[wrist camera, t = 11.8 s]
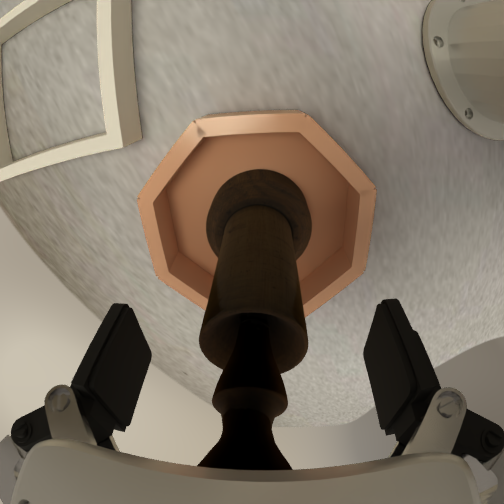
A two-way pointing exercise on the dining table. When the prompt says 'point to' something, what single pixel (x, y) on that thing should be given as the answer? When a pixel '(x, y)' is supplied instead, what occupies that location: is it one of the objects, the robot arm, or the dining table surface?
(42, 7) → the open rectangular frame
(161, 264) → the terracotta bowl
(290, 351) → the dark brown knobbed post
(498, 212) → the dining table surface
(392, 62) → the dining table surface
